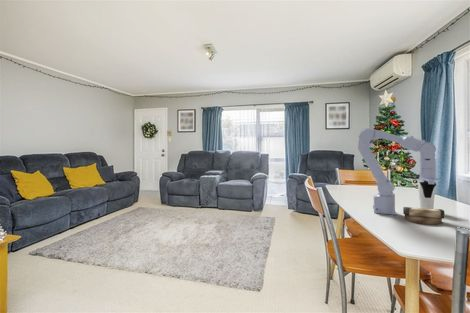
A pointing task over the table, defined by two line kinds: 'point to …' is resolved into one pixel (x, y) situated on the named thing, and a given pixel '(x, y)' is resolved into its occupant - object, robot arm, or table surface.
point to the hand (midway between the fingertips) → (427, 197)
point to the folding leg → (423, 212)
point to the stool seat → (424, 220)
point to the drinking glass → (425, 202)
